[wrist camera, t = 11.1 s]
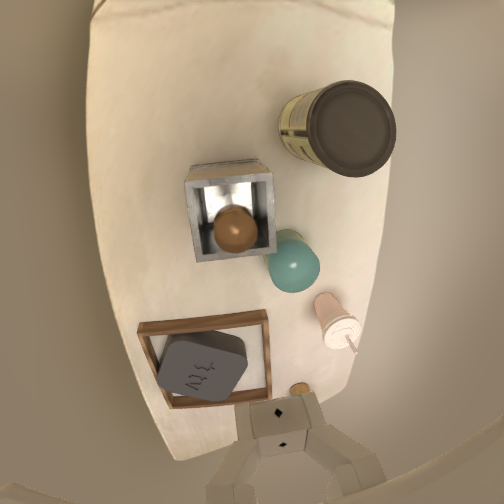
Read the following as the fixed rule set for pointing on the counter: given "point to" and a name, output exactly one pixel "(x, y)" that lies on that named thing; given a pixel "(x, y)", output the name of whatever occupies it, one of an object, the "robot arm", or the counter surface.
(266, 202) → the square gray utensil holder
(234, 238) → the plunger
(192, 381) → the streaming box
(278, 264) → the teal pillar candle
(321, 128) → the coffee can
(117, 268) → the counter surface
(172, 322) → the wooden square frame
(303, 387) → the sprinkles bottle
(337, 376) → the counter surface
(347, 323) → the smoothie
